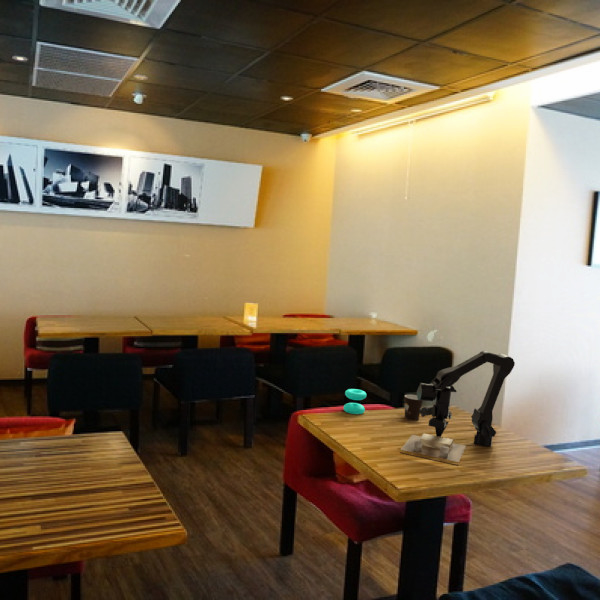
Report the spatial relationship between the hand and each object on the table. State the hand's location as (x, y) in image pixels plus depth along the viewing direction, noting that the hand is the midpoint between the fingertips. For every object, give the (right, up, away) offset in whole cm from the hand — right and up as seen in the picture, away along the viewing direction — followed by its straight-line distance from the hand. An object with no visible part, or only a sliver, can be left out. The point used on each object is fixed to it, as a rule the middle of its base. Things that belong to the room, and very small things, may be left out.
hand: (438, 439), depth 253 cm
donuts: (-31, +4, +38) cm, 49 cm away
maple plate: (-2, -1, -5) cm, 5 cm away
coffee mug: (-4, +1, +38) cm, 39 cm away
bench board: (-4, -3, -8) cm, 9 cm away
